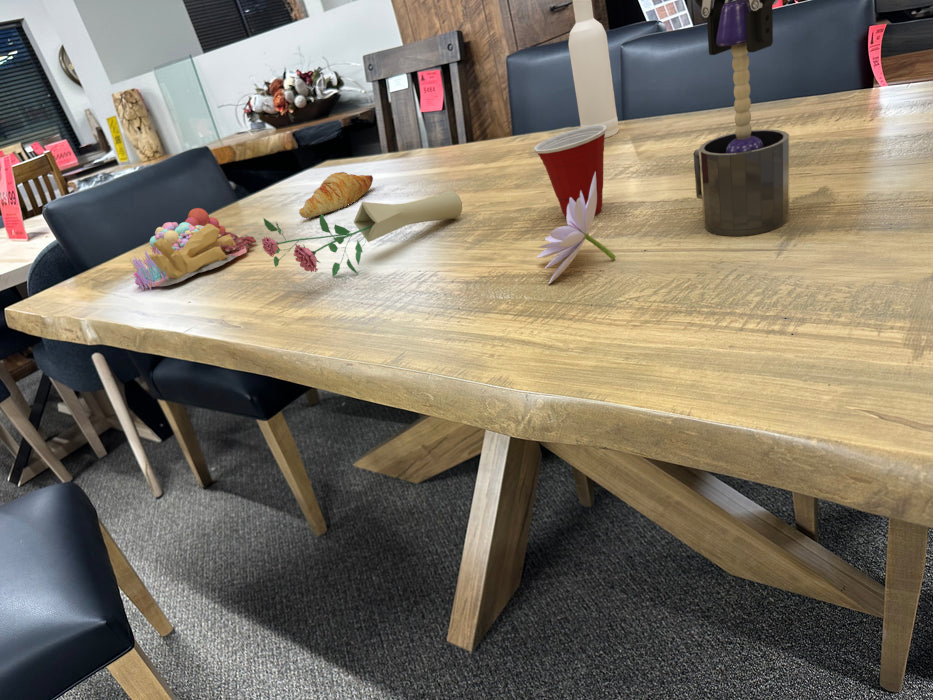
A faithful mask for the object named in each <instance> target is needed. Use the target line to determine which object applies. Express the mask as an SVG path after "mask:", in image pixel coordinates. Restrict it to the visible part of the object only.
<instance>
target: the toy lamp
mask: <svg viewBox="0 0 933 700" xmlns="http://www.w3.org/2000/svg"><path fill="white" fill-rule="evenodd" d="M750 11H752V9H751V7H750V3H749V0H730V1H728V2H727V3H725V4H724V5H723V7H722V11H721V16H720V22H719V27H718V33H717V39H716V44H717V45H718V46H731V45H732V47H731V49H730V51H731V55H732V57H733V58H732V62H731V66H732V69H733V71H734V72H733V74H732V81H733V84H734V87H733V96H734V98H735V100H734V103H733V108H734V111H735V116H734V123H735V126H736V127H735V130H734V131H735V132H734V133H735V134H736V137H737V138H736V139H734V140H732V141H731V142H730V143H729V145H728V147H727V149H726V154H728V153H740V152H747V151H752V150H757V149H761V148H764V146H763V143H762V141H761V140H760V139H759V138H757V137H755V136H750V135H751V130H752V124H750V123H751V121H752V113H751V111H750V109H751V105H752V100H751V98H750V95H751V85H750V83H749V82H750V78H751V73H750V70H749V66H750V57H749V55H748V53H749V52H748V51H747V41H746V13H747V12H750Z"/></svg>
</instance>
